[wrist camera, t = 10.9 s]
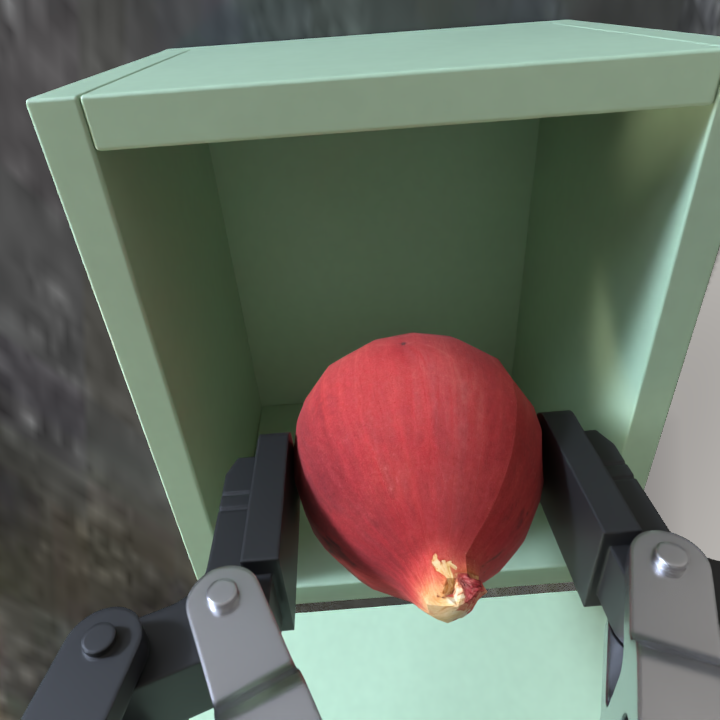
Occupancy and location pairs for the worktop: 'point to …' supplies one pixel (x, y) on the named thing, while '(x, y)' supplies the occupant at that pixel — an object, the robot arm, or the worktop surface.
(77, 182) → the chest
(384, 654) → the lid
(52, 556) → the worktop surface
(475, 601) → the onion
